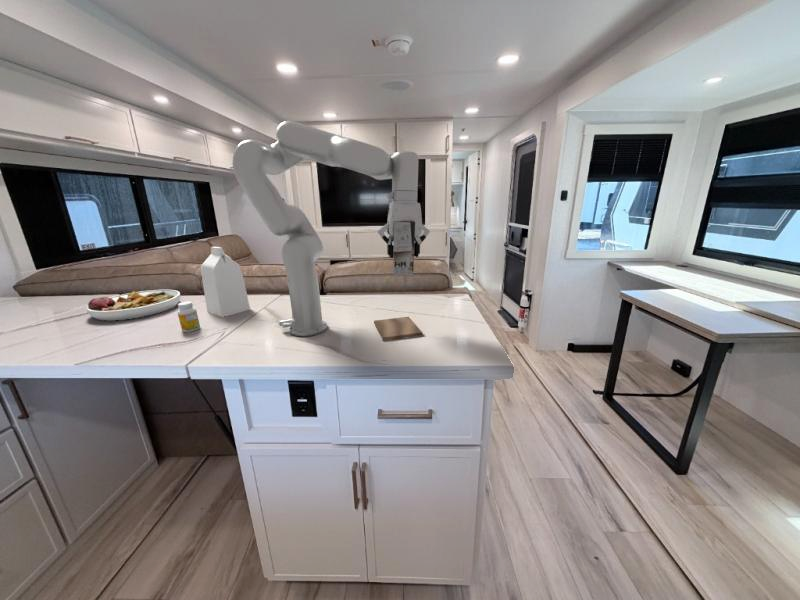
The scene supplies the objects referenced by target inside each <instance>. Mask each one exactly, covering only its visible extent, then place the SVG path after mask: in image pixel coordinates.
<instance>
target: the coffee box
mask: <svg viewBox="0 0 800 600" xmlns="http://www.w3.org/2000/svg"><path fill="white" fill-rule="evenodd" d="M414 243H415V221H400V222H394V241H393V246H394V248H393V258H392V259H393V271H392V272H393V276H413V275H414V269H415V268H414V265H415V256H414Z"/></svg>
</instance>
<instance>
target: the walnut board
mask: <svg viewBox="0 0 800 600" xmlns="http://www.w3.org/2000/svg"><path fill="white" fill-rule="evenodd" d="M374 324H375V325H374ZM373 325H374V327H375V328H376V330H377V333H378V334H379V336H380V338H381V339H382V341H383V342H387V341H395V340H400V339H401V340H402V339H408V338H409V337H410V338H416V337H423V331H422V329H420V328H419V327H418V326H417V324H415V322H414V321H413V320H412V318H410V316H403V317H393V318H386V319H385V318H384V319H377V320H373ZM410 338H409V339H410Z"/></svg>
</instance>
